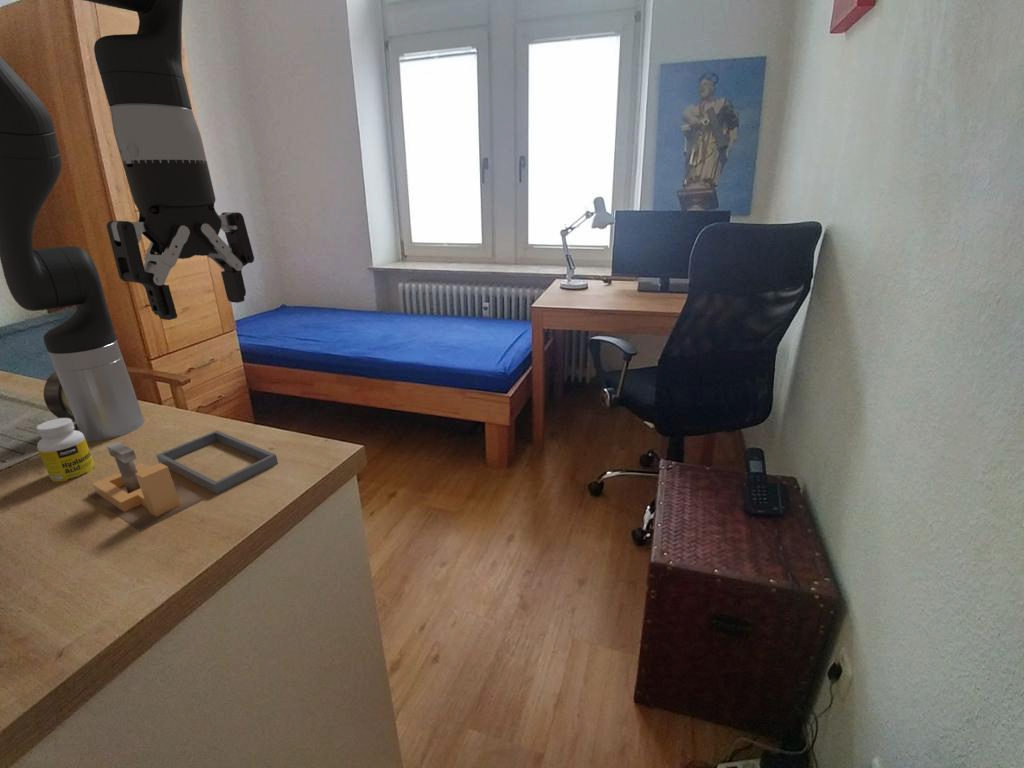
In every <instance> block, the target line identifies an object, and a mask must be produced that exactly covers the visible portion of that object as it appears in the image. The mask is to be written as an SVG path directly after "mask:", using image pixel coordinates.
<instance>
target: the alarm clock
mask: <svg viewBox="0 0 1024 768" xmlns="http://www.w3.org/2000/svg"><path fill="white" fill-rule="evenodd" d="M43 400H44V402H45V405H46V408H47V409H48V410H49V411H50V413H51V414H53V416H55V417H56V418H57V419H59V418H70V419H71V420H72V422H73V423H75V424H74V430H76V431H79V429H78V426H77V424H76V421H75V418H74V416H73V413H72V411H71V408H70V406H69V403H68V401H67V398H66V396H65V393H64V391H63V388H62V386H61V383H60V381H59V378H58V376H57V373H56V370H54V371H53V372H52V373H51V374H50V375H49V377H48V378H47V379H46V382H45V385H44V386H43Z"/></svg>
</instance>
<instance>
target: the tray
mask: <svg viewBox="0 0 1024 768" xmlns="http://www.w3.org/2000/svg"><path fill="white" fill-rule="evenodd" d="M216 442H220V443H221V444H224V445H226V446H228V447H231V448H234V449H236V450H238V451H241V452H242V453H244V454H247V455H250V456H252V457H254V458H257V459H259V460H258V461H256V462H254V463H251V464H250V465H248V466H245V467H244V468H242V469H239V470H236V471H235V472H233V473H231V474H229V475H227V476H225V477H223V478H221V479H219V480H217V481H216V480H214V479H212V478H210V477H208V476H206V475H204V474H202V473H201V472H199V471H196V470H194V469H192V468H190V467H188V466H186V465H185V464H183V463H180V462H179V461H176V460H175V459H178V458H180V457H182V456H185V455H188V454H190V453H192V452H195V451H197V450H199V449H202V448H204V447H206V446H208V445H211V444H213V443H216ZM156 458H157V461H158V464H159V463H162V464H164V465H166V466H167V467H168V468H169V471H170V470H171V471H173V472H174V473H176V474H177V475H179V476H182V477H183V478H185V479H187V480H190V481H191V482H193V483H195V484H196V485H199V486H200V487H203V488H204V489H207V490H209V491H210V492H212V493H215V494H216V495H219V494H221V493H222V492H224V491H227V490H228V489H230V488H232V487H234V486H237V485H239V484H240V483H242V482H244V481H247V480H248V479H250V478H252V477H254V476H256V475H258V474H261V473H262V472H264V471H266V470H268V469H270V468H272V467H274V466H276V465H277V464H279V463H278V458H277V455H276V454H275V453H272V452H271V451H267V450H266V449H263V448H261V447H258V446H255V445H253V444H250V443H248V442H245V441H244V440H242V439H239V438H236V437H234V436H232V435H229V434H226V433H224V432H221V431H219V430H215V431H212V432H209V433H208V434H205V435H202V436H199V437H198V438H195V439H193V440H190V441H188V442H184V443H183V444H180V445H177V446H176V447H173V448H170V449H167V450H165V451H163V452H160V453H158V454H156Z"/></svg>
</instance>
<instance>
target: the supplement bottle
mask: <svg viewBox="0 0 1024 768" xmlns="http://www.w3.org/2000/svg"><path fill="white" fill-rule="evenodd" d="M36 431H37V433H38V436H39V437H40V438H41V439H40V440H39V441H38V442H37V445H36V446H37V447H36V448H37V451H38V453H39V455H40V457H41V459H42V463H43V465H44V467H45V469H46V472H47V474H48V476H49V479H50V481H52V482H55V483H56V482H58V483H59V482H68V481H72V480H75V479H78V478H81V477H83V476H85V475H87V474H89V473H90V472H92V471H94V469H95V468H96V464H95V461H94V458H93V456H92V453H91V450H90V448H89V445H88V442H86V439H85V437H84V435H83V433H81V432H80V431H79V430H78V431H76V430H75V424H74V422H72V420H71V419H70V418H54V419H51V420H48V421H44V422H42V423H40V424H39V425H37V426H36Z"/></svg>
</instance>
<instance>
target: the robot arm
mask: <svg viewBox="0 0 1024 768" xmlns="http://www.w3.org/2000/svg"><path fill="white" fill-rule="evenodd" d="M83 1H84V2H89V3H93V4H99V5H103V6H107V7H112V8H117V9H122V10H126V11H129V12H130V11H131V12H136V13H137V16H138V17H137V18H138V22H139V23H138V29H137V31H136V32H137V33H128V34H127V33H126V34H125V33H124V34H123V33H122V34H121V33H120V34H111V35H105V36H102V37H100V38H97V40H96V41H95V42H94V45H93V50H94V52H93V53H94V58H95V62H96V65H97V69H98V72H99V75H100V79H101V82H102V86H103V90H104V92H105V96H106V100H107V103H108V106H109V110H110V114H111V115H110V116H111V122H112V129H113V130H112V131H113V135H114V138H115V141H116V144H117V149H118V152H119V155H120V159H121V162H122V166H123V169H124V173H125V176H126V179H127V183H128V186H129V189H130V190H129V191H130V193H131V197H132V201H133V203H134V205H135V207H136V208H137V210H138V212H139V215H138V216H139V218H138V221H127V220H110V221H108V222H107V224H106V228H107V229H106V230H107V233H108V236H109V237H108V238H109V242H110V245H111V249H112V253H113V256H114V257H113V258H114V261H115V264H116V268H117V274H118V277H119V279H120V280H121V281H123V282H129V283H135V284H140V285H142V286H143V287H144V289H145V291H146V296H147V299H148V301H149V305H150V308H151V311H152V312H153V314H154V315H155V316H158V317H159V318H160V319H161V320H167V321H171V320H176V319H177V318H178V313H177V310H176V307H175V303H174V302H175V301H174V299H173V295H172V292H171V289H170V288H171V287H170V285H169V284H166V281H167V278H168V276H169V274H170V271H171V269H172V268H174V267H175V266H176V264H177V262H178V259H181V260H184V259H185V260H186V259H190V258H192V257H195V256H198V257H199V256H201V257H202V256H203V257H205V256H206V257H208V258H209V259H211V260H213V262H214V263H216V264H217V266H219V267H220V268H221V269H222V270H223V271H220V273H221V278H222V280H223V281H222V282H223V285H224V290H225V293H226V298H227V300H228V302H230V303H235V304H236V303H237V304H239V303H242V302H244V301H245V297H246V294H247V293H246V292H247V291H246V287H245V285H246V284H245V282H244V277H243V273H242V270H243V268H244V267H245V266H247V265H248V264H253V263H254V261H255V256H254V252H253V248H252V245H251V242H250V237H249V234H248V233H249V232H248V230H247V226H246V222H245V218H244V215H243V214H242V213H241V212H237V211H236V212H235V211H234V212H231V211H230V212H229V211H228V212H222V213H221V214H218V212H217V210H216V209H215V203H216V200H217V199H216V195H215V190H214V186H213V182H212V178H211V174H210V169H209V165H208V161H207V157H206V152H205V147H204V143H203V139H202V135H201V132H200V130H199V126H198V124H197V121H196V118H195V115H194V113H193V109H192V104H191V99H190V95H189V91H188V87H187V82H186V78H185V75H184V71H183V61H182V60H183V58H182V57H183V54H182V48H183V46H182V43H183V41H182V34H183V33H182V29H183V28H182V25H183V24H182V22H183V21H182V20H183V7H184V5H183V3H184V0H83ZM59 147H60V146H59V144H58V140H57V134H56V130H55V126H54V121H53V119H52V117H51V114H50V112H49V111H48V109H47V107H46V106H45V104H44V103H43V102H42V101H41V99H40V98H39V97H38V96H37V95H36V93H35V92H34V91H33V89H31V88H30V87H29V85H28V84H27V83H26V82H25V81H24V80H23V78H21V77H20V76H19V75H18V73H16V71H15V70H14V69H13V68H12V67H11V65H9V64H8V63H7V62H6V61H5V59H4V58H3V57H2V56H1V55H0V264H1V267H2V272H3V276H4V279H5V282H6V285H7V288H8V290H9V292H10V294H11V296H12V298H13V299H14V301H15V302H16V303H17V305H18V306H19V307H21V308H22V309H24V310H26V311H30V312H35V311H45V310H52V309H59V308H64V307H65V308H66V307H71V306H76V309H75V312H74V313H73V314H72V316H70V317H69V318H68V319H67V320H65V321H64V322H62V323H61V324H59V325H56V326H54V328H51V329H49V330H48V331H47V332H45V334H44V335H43V344H44V345H45V348H46V351H47V352H48V355H49V358H50V360H51V363H52V366H53V368H54V371H56V373H57V376H58V378H59V381H60V383H61V386H62V388H63V391H64V393H65V396H66V398H67V401H68V403H69V406H70V408H71V411H72V413H73V416H74V418H75V421H76V422H75V424H77V426H78V431H80V432H81V433H83V435H84V437H85V439H86V442H87V443H89V442H92V441H103V440H104V441H105V440H109V439H114V438H119V437H122V436H125V435H127V434H130V433H132V432H134V431H136V430H138V429H139V428H141V427H142V426H143V425H144V424H145V419H144V416H143V413H142V410H141V406H140V403H139V401H138V398H137V395H136V392H135V389H134V386H133V384H132V380H131V378H130V375H129V372H128V371H129V370H128V368H127V366H126V365H127V364H126V363H125V360H124V357H123V354H122V351H121V348H120V346H119V343H118V339H117V336H116V333H115V330H114V324H113V320H112V317H111V314H110V311H109V308H108V305H107V299H106V297H105V296H106V295H105V293H104V288H103V286H102V285H103V284H102V281H101V278H100V275H99V271H98V269H97V266H96V263H95V262H94V260H93V258H92V257H91V255H90V254H89V252H87V251H86V250H85V249H84V248H82V247H80V246H76V245H75V246H74V245H70V246H57V247H46V248H37V249H36V248H35V249H34V245H33V242H34V241H33V240H34V238H33V236H34V228H35V224H36V221H37V218H38V216H39V213H40V212H41V209H42V207H43V206H44V205H45V202H46V201H47V199H48V198H49V196H50V194H51V192H52V191H53V190H54V187H55V186H56V183H57V180H59V176H60V173H61V170H62V157H61V154H60V153H61V152H60V148H59ZM221 230H222V232H224V234H225V237H226V242H227V243H226V242H225V241H224V240H223V239H222V238H221V237H220V236H219V233H220V231H221ZM142 235H143V236H144V237H145V238H146V239H148V240H149V241H150V243H149V246H148V247H147V251H146V253H145V255H144V258H143V257H142V254H141V249H140V245H139V243H140V242H141V240H142ZM143 259H144V262H143Z"/></svg>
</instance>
